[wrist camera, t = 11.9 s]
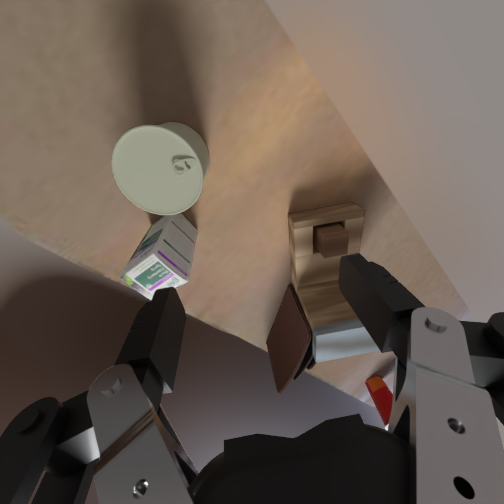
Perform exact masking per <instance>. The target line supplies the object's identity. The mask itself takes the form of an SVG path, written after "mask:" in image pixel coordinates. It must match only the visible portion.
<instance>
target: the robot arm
mask: <svg viewBox="0 0 504 504" xmlns="http://www.w3.org/2000/svg"><path fill="white" fill-rule="evenodd" d="M338 283H339V288H340V291H341V293H342V295H343V296H344V298H345V299H346V300H347V302H348V303H349V305H350V306H351V308H352V309H353V311H354V312H355V314H356V315H357V317H358V318H359V320H360V321H361V323H362V324H363V326H364V327H365V329H366V330H367V332H368V333H369V335H370V336H371V338H372V339H373V341H374V342H375V344H376V345H377V346H378V348H379V349H380V351H381V352H382V353H384V352H389V351H393V352H394V354H395V355H396V356H397V357H396V360H395V372H394V387H393V401H392V410H391V415H390V419H389V425H388V431H386V430H384V429H381V428H378V427H375V426H371V425H367V424H364V423H363V421H362V419H361V416H360V414H356V415H350V416H345V417H340V418H335V419H330V420H326V421H324V422H323V423H321V424H319V425H318V426H315V427H314V428H312V429H310V430H309V431H307V432H305V433H303V434H302V435H300V436H298V437H296V438H286V437H279V436H271V435H264V434H254V435H248V436H243V437H238V438H233V439H228V440H224V452H222V453H220V454H219V455H217V456H216V457H215V458H213V459H212V460H211V461H210V462H209V463H208V464H207V465H206V466H205V467H204V468H203V469H202V470H201V472H200V473H198V471H197V469H196V467H195V466H194V464H193V462H192V461H191V459H190V457H189V456H188V454H187V453H186V451H185V450H184V448H183V446H182V445H181V443H180V441H179V439H178V437H177V435H176V433H175V431H174V429H173V428H172V425H171V424H170V422H169V420H168V418H167V416H166V414H165V413H164V411H163V408H162V407H161V405H160V402H161V397H162V394H165V393H170V392H172V391H173V386H174V381H175V376H176V370H177V365H178V359H179V354H180V349H181V344H182V338H183V332H184V327H185V322H186V315H185V310H184V307H183V305H182V303H181V300H180V298H179V296H178V294H177V291H176V289H175V288H174V287H173V286H172V287H167V288H161V289H157V290H156V291H155V293H154V295H153V298H152V300H151V302H146V303H145V304H144V305H143V307H142V308H141V309H140V310H139V311H138V313H137V315H136V317H135V320H134V323H133V324H132V326H131V329H130V332H129V333H128V335H127V338H126V340H125V342H124V344H123V347H122V349H121V351H120V354H119V356H118V358H117V360H116V363H115V365H114V366H113V367H110V368H109V369H107V370H106V371H104V372H103V373H102V374H101V375H100V376H98V377H97V379H96V380H95V381H94V382H93V384H92V385H91V387H90V389H89V390H88V391H86V392H84V393H82V394H79V395H77V396H75V397H73V398H71V399H69V400H67V401H65V402H63V403H60V402H59V401H58V400H57V399H55V398H53V397H46V398H43V399H40V400H38V401H36V402H34V403H32V404H31V405H29V406H28V407H26V408H25V409H24V410H22V411H21V412H20V413H19V414H18V415H17V416H16V417H15V418H14V419H13V420H12V421H11V423H10V424H9V425H8V426H7V428H6V429H5V431H4V432H3V434H2V435H1V437H0V504H28V502H29V500H30V497H31V495H32V493H33V491H34V489H35V487H36V485H37V483H38V481H39V478H40V476H41V474H42V472H43V470H44V471H46V473H45V475H44V477H43V479H42V481H41V483H40V486H39V488H38V490H37V492H36V494H35V497H34V499H33V501H32V503H31V504H84V503H85V500H86V497H87V494H88V491H89V488H90V485H91V482H92V479H93V476H94V479H95V484H96V489H97V493H98V498H99V503H100V504H504V449H503V445H502V441H501V437H500V433H499V429H498V425H497V421H496V417H497V418H498V419H499V420H500V422H501V423H502V424H503V425H504V312H499V313H495V314H493V315H492V316H491V318H490V319H489V321H488V322H487V323H481V322H468V321H458V320H457V319H456V318H455V317H453V316H452V315H450V314H449V313H447V312H445V311H442V310H440V309H436V308H431V307H426V306H424V305H423V304H422V303H421V302H420V301H419V300H418V299H417V298H416V297H415V296H414V295H413V294H412V293H411V292H409V291H408V290H407V289H406V288H405V287H404V286H403V285H402V284H401V283H400V282H398V280H397V279H396V278H394V277H393V276H391V274H390V273H389V272H388V271H387V270H386V269H385V268H384V267H382V266H380V265H378V264H376V263H374V262H368V261H367V260H366V259H365V258H364V257H363V256H362V255H361V254H359V253H356V254H350V255H345V256H342V257H341V259H340V268H339V280H338ZM99 457H100V460H99ZM98 460H99V461H98Z"/></svg>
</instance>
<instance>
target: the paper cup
mask: <svg viewBox="0 0 504 504" xmlns="http://www.w3.org/2000/svg"><path fill="white" fill-rule="evenodd" d="M365 384H366V386H367V388H368V391H369V393H370V395H371V397H372V399H373V401H374V403H375V406H376V408H377V410H378V412H379V414H380V416H381V418H382V420H383V422H384V425H385V429H386V430H387V431H388V425H389V419H390V415H391V410H392V401H393V394H392V393H391V391H390V390H389V388H388V387H387V385H386V384H385V383H384V381H383V380H382V378H381V377H380V376H373V377H370V378H368V379H367V380H366V381H365Z"/></svg>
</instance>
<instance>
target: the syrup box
mask: <svg viewBox="0 0 504 504" xmlns="http://www.w3.org/2000/svg"><path fill="white" fill-rule="evenodd" d="M197 233H198V231H197V230H196V228H195V227H194V226H193V225H192V224H191V223H190V222H189V221H188V220H187V219H186V218H185V217H184V216H183V215H182V214H181V213H178V214H174V215H164V216H163V217H161V218H160V219H159V220H158V221H156V222H155V223H154V224H153V225H151V226H150V228H149V230H148V231H147V233H146V235H145V236H144V238H143V240H142V241H141V243H140V244H139V246H138V247H137V249H136V251H135V252H134V254H133V256H132V257H131V259H130V260H129V262H128V264H127V265H126V267H125V268H124V270H123V272H122V273H121V275H120V278H121V279H122V280H123V281H125V282H126V283H127V284H128V285H130V286H131V287H132V288H134V289H135V290H136V291H138V292H139V293H141V294H142V295H144V296H146V297H147V298H149V299H150V300H152V298H153V295H154V293H155V291H156V290H157V289H161V288H167V287H172V286H173V287H174V288H175V289H177V288H179V287H180V286H182V285H183V284H185V283H186V282H188V280H189V275H190V270H191V265H192V260H193V254H194V249H195V243H196V238H197Z"/></svg>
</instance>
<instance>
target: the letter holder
mask: <svg viewBox="0 0 504 504" xmlns="http://www.w3.org/2000/svg"><path fill="white" fill-rule="evenodd" d="M266 344H267V348H268V352H269V358H270V362H271V367H272V371H273V376H274V380H275V384H276V389H277V391H278V392H279V393H280V394H281V393H282V392H283V391H284V390H285V389H286V388H287V386H288V385H289V384H290V382H291V380H292V379H294V380H296V379H298V378H299V377H300V375H301V374H302V373H303V372H304V370H305V369H306V368H307V369H308V370H310V369H312V368H313V367H314V366H315V364H316V362H315V359H314V356H313V354H312V353H313V332H312V329H311V327H310V325H309V322H308V320H307V317H306V315H305V313H304V310H303V308H302V305H301V303H300V301H299V298H298V296H297V293H296V291H295V289H294V286H292V285H289V286H288V289H287V291H286V294H285V297H284V299H283V302H282V304H281V307H280V309H279V312H278V314H277V317H276V319H275V322H274V324H273V327H272V330H271V332H270V335H269V337H268V340H267V342H266Z"/></svg>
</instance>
